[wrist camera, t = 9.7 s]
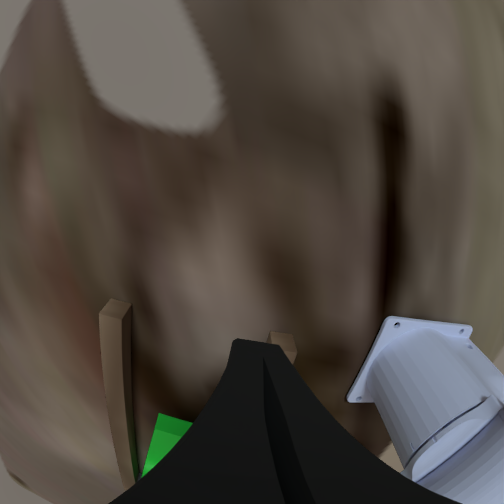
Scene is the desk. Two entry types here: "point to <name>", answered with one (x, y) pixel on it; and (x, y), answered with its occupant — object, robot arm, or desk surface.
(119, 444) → the guide track
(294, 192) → the desk surface
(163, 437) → the mechanical part
